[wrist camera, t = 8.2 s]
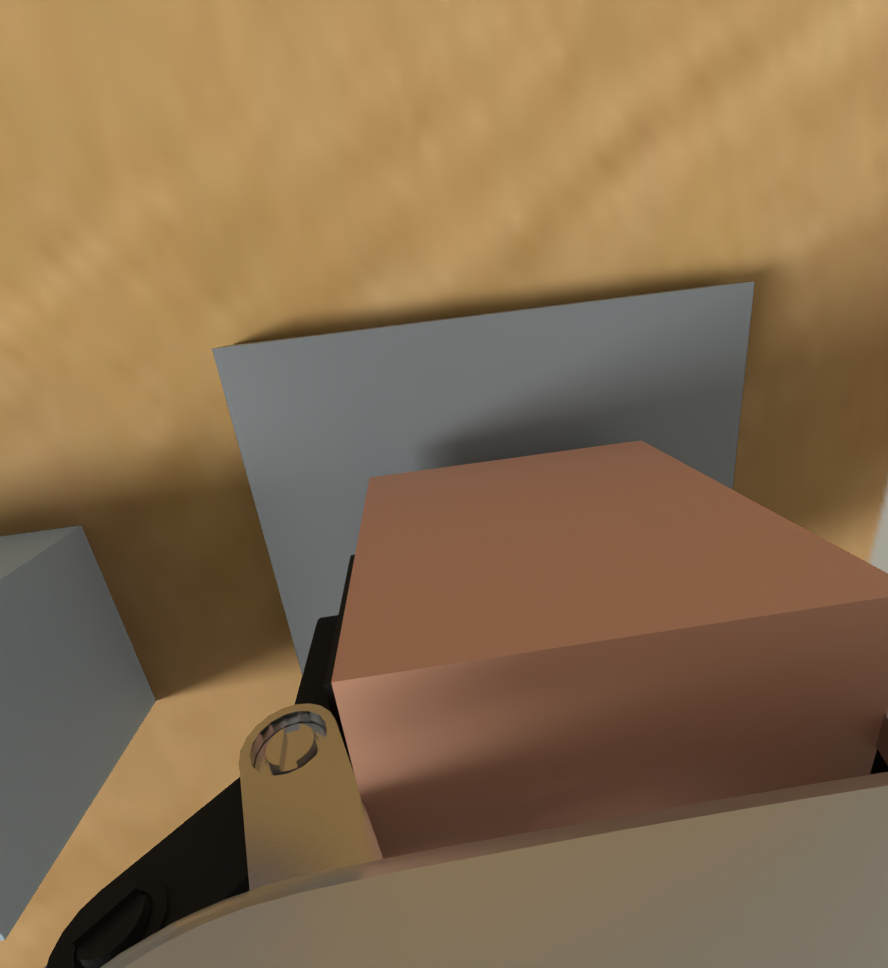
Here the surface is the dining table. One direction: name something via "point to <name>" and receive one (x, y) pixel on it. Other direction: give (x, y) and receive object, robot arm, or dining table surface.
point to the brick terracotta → (595, 647)
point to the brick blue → (57, 701)
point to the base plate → (471, 409)
